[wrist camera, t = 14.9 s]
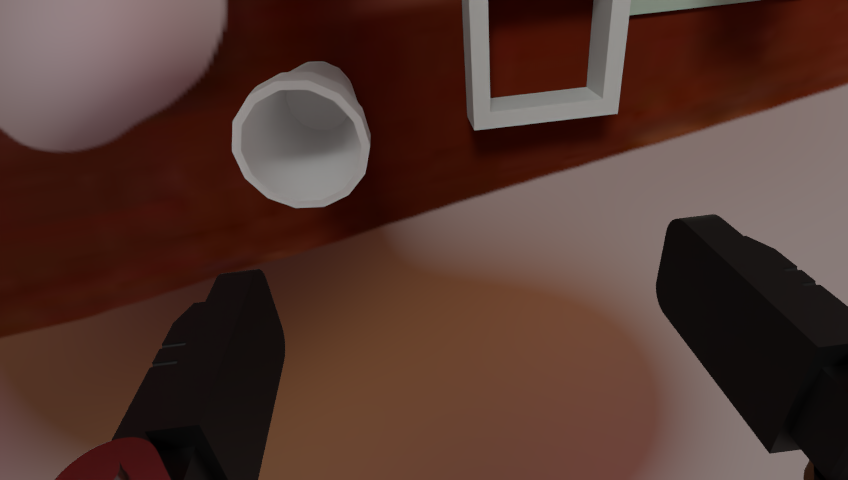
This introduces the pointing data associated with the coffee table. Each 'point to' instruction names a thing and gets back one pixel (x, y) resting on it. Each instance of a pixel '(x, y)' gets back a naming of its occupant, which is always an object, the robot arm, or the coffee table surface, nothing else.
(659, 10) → the mat
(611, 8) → the frame
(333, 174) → the foam cup
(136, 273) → the coffee table surface
